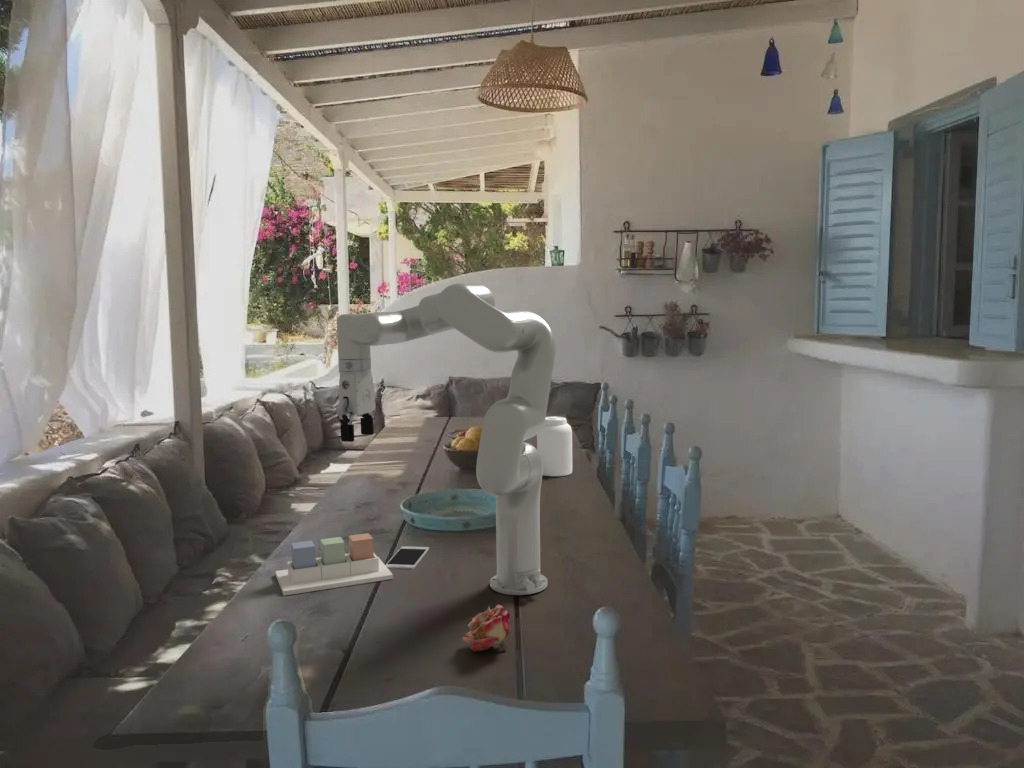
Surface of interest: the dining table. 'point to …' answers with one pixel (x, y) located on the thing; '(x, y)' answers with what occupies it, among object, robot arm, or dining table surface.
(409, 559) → the smartphone
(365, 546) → the terracotta button
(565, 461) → the white jar
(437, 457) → the dining table surface
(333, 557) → the sage button
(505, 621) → the flower
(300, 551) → the slate button
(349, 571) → the board
